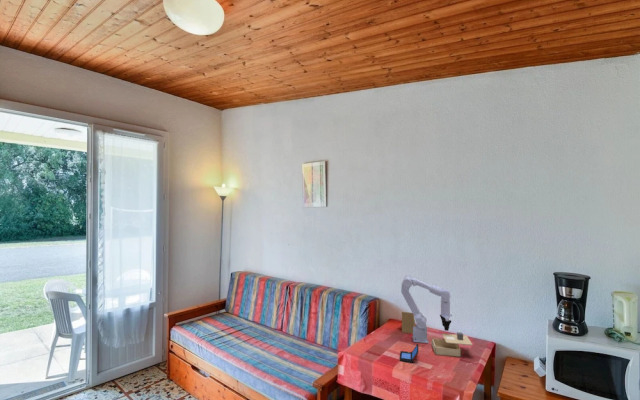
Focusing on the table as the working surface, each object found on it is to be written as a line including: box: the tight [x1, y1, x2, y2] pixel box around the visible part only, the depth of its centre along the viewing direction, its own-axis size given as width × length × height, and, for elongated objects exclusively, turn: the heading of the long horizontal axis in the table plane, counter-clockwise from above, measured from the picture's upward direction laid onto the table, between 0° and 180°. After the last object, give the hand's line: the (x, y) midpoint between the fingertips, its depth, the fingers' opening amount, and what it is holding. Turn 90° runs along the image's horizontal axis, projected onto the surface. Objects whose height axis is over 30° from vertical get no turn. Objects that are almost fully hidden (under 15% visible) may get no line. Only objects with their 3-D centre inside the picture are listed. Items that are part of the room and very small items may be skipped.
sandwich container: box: [401, 311, 417, 335], centre depth 238 cm, size 9×15×15 cm, turn 156°
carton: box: [431, 337, 462, 358], centre depth 202 cm, size 15×14×4 cm
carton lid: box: [441, 332, 473, 346], centre depth 201 cm, size 15×14×4 cm
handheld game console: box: [399, 343, 419, 364], centre depth 192 cm, size 12×11×7 cm
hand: (445, 328), depth 213 cm, fingers open, 7 cm apart
